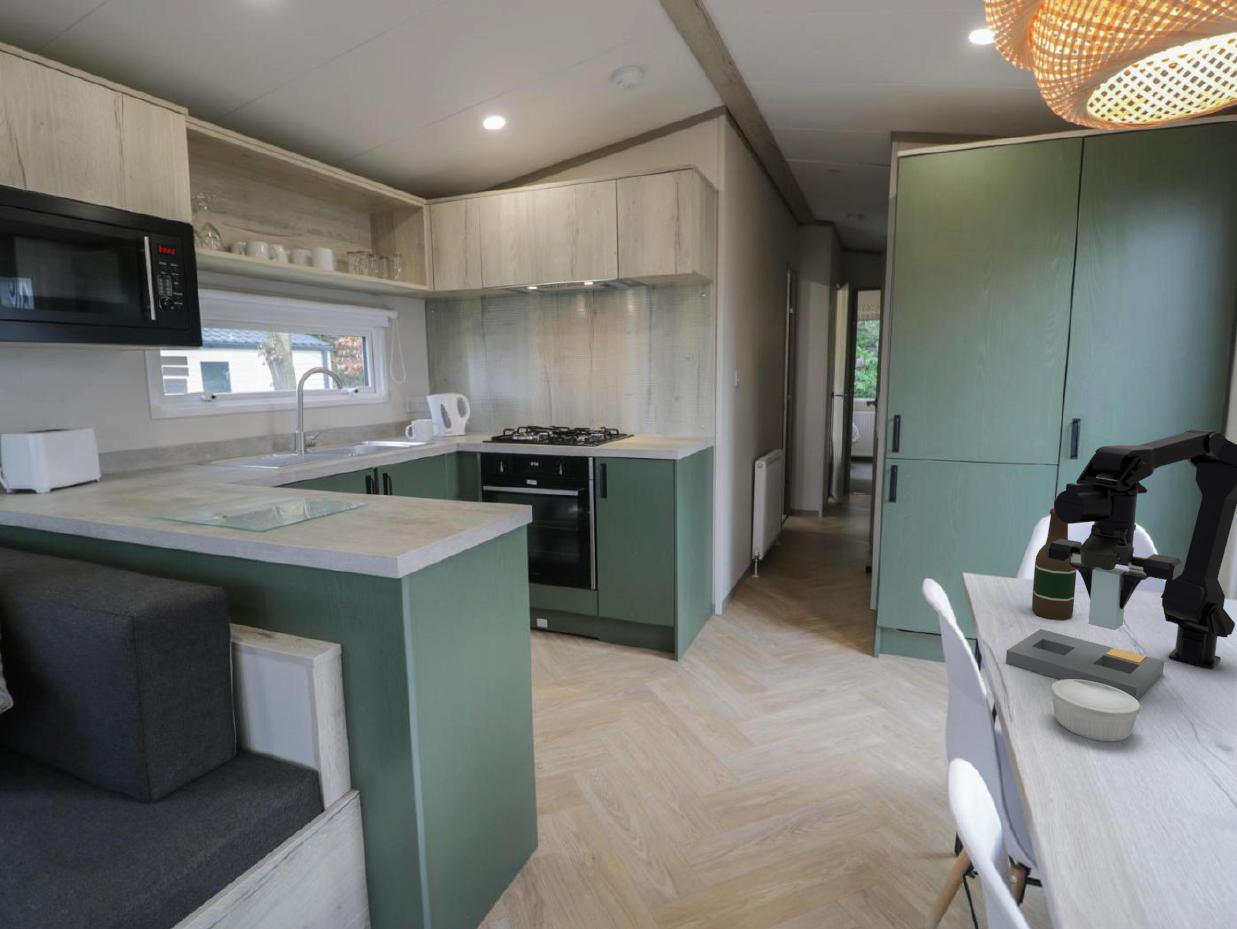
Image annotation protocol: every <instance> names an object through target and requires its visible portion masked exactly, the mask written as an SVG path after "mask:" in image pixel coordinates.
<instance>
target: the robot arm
mask: <svg viewBox="0 0 1237 929" xmlns="http://www.w3.org/2000/svg"><path fill="white" fill-rule="evenodd" d="M1186 460H1187V462H1188V463H1189V464H1190V465H1191V466H1192V467H1194V469H1195V479H1194V481H1195V483H1196V485H1197V487H1198V489H1199V492H1200V494H1201V498H1200V503H1199V507H1198V510H1197V514H1196V518H1195V522H1194V526H1193V531H1192V534H1191V539H1190V542H1189V546H1188V551H1187V554H1186V558H1185V561H1184V562H1185V563H1184V566H1183V561H1182V560H1181V559H1180V558H1179V557H1175V556H1169V555H1168V556H1167V555H1163V554H1156V553H1153V554H1152V555H1149V556H1148V557H1140V556H1134V553H1135V552H1134V551H1135V547H1133V546H1134V535H1135V531H1136V530H1137V524H1136V512H1137V502H1138V501H1137V500H1138V494H1147V492H1148V489H1147V488H1146V487H1145V486H1144V485H1142V484H1141V483H1140V482H1142V481H1143V480H1145V479H1147V478H1149V477H1150V476H1152V475H1153V474H1154V471H1155V470H1156V469H1158V468H1161V467H1165V466H1168V465H1171V464H1175V463H1179V462H1182V461H1186ZM1053 506H1054V507H1053V508H1054V509H1055V513H1056V515H1057V516H1058V518H1059V519H1060V520H1061V521H1063V522H1065V523H1068V525H1071V524H1072V525H1073V524H1081V523H1082V524H1085V523H1093V524H1092V525H1091V528H1090V532H1089V533H1090V534H1089V536H1088V538H1086V539H1085V540H1084V542H1083V543H1082V542H1081V541H1079V540H1078V541H1077V540H1072V539H1068V540H1066V539H1059V540H1057V541H1054V542H1052V543H1050V544H1049V545H1048V547H1047V553H1046V557H1047V558H1051V559H1056V560H1062V561H1065V560H1067V559H1068V558H1070V556H1072V557H1071V563H1069V565H1070V566H1071V567H1075V568H1076V569H1077V571H1078V572H1079V573H1080V576H1081V578H1082V580H1083V582H1084V585H1085V588H1086V591H1087V592H1086V593H1087V594H1088V597H1089V599H1090V598H1091V585H1092V572H1093V569H1095V568H1101V569H1103V570H1112V569H1114V568H1116V565H1119V566H1124V567H1127V568H1128V571H1127V572H1126V573H1124V574H1123V578H1124V583H1123V588H1122V593H1121V598H1120V609H1123V608H1124V609H1125V607H1126V605H1127V604H1128V602H1129V600H1130V599H1131V597H1132V595H1133V593H1134V592H1135V590H1136V588H1137V587H1138V585H1140V583H1141V582H1142V581H1144V580H1147V579H1149V578H1154V579H1157V580H1158V579H1159V580H1163V581H1165V582H1164V589H1163V592H1162V594H1161V596H1160V599H1161V607H1162V609H1163V614H1164V620H1165V622H1169V623H1172V624H1174V625H1175V624H1176V625H1177V631H1176V639H1175V640H1176V641H1175V648H1174V649H1173V650H1172V651H1171V652H1170V653H1169V654H1168V658H1169V659H1172V660H1176V661H1180V662H1184V663H1188V664H1192V665H1196V666H1201V667H1202V668H1208V669H1215V667H1216V666H1217V665H1218V663H1219V662H1220V661H1221V656H1219V655H1216V650H1217V643H1218V638H1228V636H1231V635H1232V634H1233V632H1234V629H1235V626H1236V623H1235V621H1234V620H1233V618H1231V616H1230V615H1229V614H1228V612H1227V610H1225V608H1224V607H1225V606H1224V605H1225V600H1226V599H1225V598H1226V595H1225V593H1224V590H1223V588H1222V586H1221V584H1220V581H1219V575H1220V571H1221V567H1222V563H1223V560H1224V555H1225V553H1226V551H1225V550H1226V548H1227V544H1228V541H1229V536H1230V532H1231V528H1232V524H1233V520H1234V518H1235V513H1236V509H1237V443H1235V442H1232V441H1231V440H1229V439H1228V438H1226V437H1225V436H1224V435H1223V434H1222V433H1220V432H1218V431H1216V430H1205V429H1203V430H1202V429H1190V430H1186V431H1184V432H1182V433H1179V434H1175V435H1172V436H1171V435H1170V436H1167V437H1164V438H1160V439H1156V440H1153V441H1150V442H1145V443H1143V444H1138V445H1136V444H1135V445H1124V444H1123V445H1122V444H1120V445H1116V444H1115V445H1103V446H1100V447H1099V448H1097V449H1096V450H1095V453H1094V454H1093V455H1092V457H1091V458H1090V459H1089V461H1088V463H1087V464H1086V466H1085V467H1084V469H1083V471H1082V472H1081V474H1080V475H1079V476H1078V478H1077V480H1076V481H1075V483H1071V482H1070V483H1069V482H1068V483H1066V485H1065V490H1063V491H1061V492H1060V493H1058V495H1057V496H1056V498H1055V500H1054V501H1053Z"/></svg>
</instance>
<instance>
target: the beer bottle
mask: <svg viewBox="0 0 1237 929" xmlns="http://www.w3.org/2000/svg"><path fill="white" fill-rule="evenodd" d="M1048 513H1049V514H1050V516H1049V517H1050V518H1049V523H1048V524H1049V526H1048V531H1047V537H1046V542H1045V543H1044V544H1043V545H1042V546H1041V547H1040V549H1039V550H1038V552H1037V554H1036V556H1035V561H1034V572H1033V583H1032V584H1033V585H1032V587H1033V588H1032V598H1031V609H1032V612H1033V613H1034V615H1036V616H1038V617H1040V618H1042V619H1043V618H1044V619H1047V620H1050V621H1051V620H1053V621H1066V620H1070V619H1072V617H1073V614H1074V605H1075V604H1074V603H1075V595H1076V594H1075V592H1076V582H1077V581H1076V580H1077V571H1078V570H1077V569H1076V568H1075V567H1071V566H1070V565H1069V563H1071V557H1072V556H1070V558H1068V559H1067V560H1065V561H1062V560H1056V559H1051V558H1047V557H1046V553H1047V547H1048V545H1049V544H1050V543H1052V542H1054V541H1057V540H1059V539H1066V540H1069V524H1068V523H1065V522H1063V521H1061V520H1060V519H1059V518H1058V516H1057V515H1056V513H1055V509H1054V507H1053V508H1050V509H1049V512H1048Z"/></svg>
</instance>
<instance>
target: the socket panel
mask: <svg viewBox="0 0 1237 929" xmlns="http://www.w3.org/2000/svg"><path fill="white" fill-rule="evenodd" d="M1005 656H1006V657H1005V658H1006V659H1005V663H1006V664H1008V665H1012V666H1015V667H1018V668H1021V669H1025V670H1029V671H1032V672H1035V673H1038V674H1041V675H1045V676H1048V677H1052V678H1054V679H1057V680H1066V679H1078V680H1087V681H1092V682H1097V683H1101V684H1105V685H1108V686H1111V687H1114V688H1116V689H1119V690H1121V691H1123V692H1125V693H1127V694H1129V695H1131V696H1132V697H1134V698H1135V699H1136V700H1137V701H1138V700H1139V699H1141V697H1142V696H1144V694H1146V692H1147V691H1148V690H1149V689H1150V688H1151V687H1152V686H1153V685H1154V684H1155V683H1156V682H1157V681H1158V680H1159V679H1160V678H1161V677H1162V676H1163V675H1164V669H1165V668H1164V666H1165V660H1163V659H1157V658H1155V657H1150V656H1148V655H1147V656H1146V655H1143V654H1138V653H1134V652H1131V651H1128V650H1124V649H1119V648H1116V647H1112V646H1108V645H1104V644H1100V643H1096V642H1093V641H1089V640H1084V639H1081V638H1077V637H1073V636H1068V635H1065V634H1063V633H1062V634H1061V633H1058V632H1055V631H1050V630H1046V629H1043V628H1040V629H1038V630H1037V631H1035V632H1033V633H1032V634H1030V635H1029V636H1027V637H1026V638H1024V639H1023V640H1020V641H1018V642H1017V643H1016V644H1014V645H1013V646H1011V647H1009V648H1008V649H1007V650H1006V655H1005Z"/></svg>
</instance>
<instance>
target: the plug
mask: <svg viewBox="0 0 1237 929" xmlns="http://www.w3.org/2000/svg"><path fill="white" fill-rule="evenodd" d="M1128 571H1129V569H1128V570H1127V569H1124V568H1123V569H1122V568H1116V567H1115V568H1114V569H1112V570H1103V569H1101V568H1095V569H1093V572H1092V585H1091V598H1090V597H1089V612H1088V625H1091V626H1097V627H1098V628H1099V627H1100V628H1104V629H1109V630H1113V631H1116V630H1117V629H1119V628H1120V627H1122V626H1123V625H1124V617H1125V607H1124V608H1123V609H1120V598H1121V593H1122V588H1123V583H1124V578H1123V574H1124V573H1126V572H1128Z"/></svg>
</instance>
